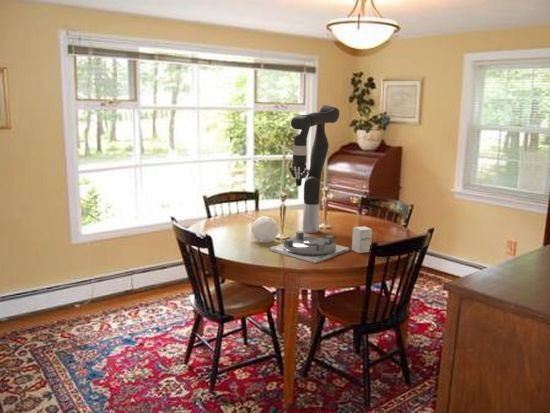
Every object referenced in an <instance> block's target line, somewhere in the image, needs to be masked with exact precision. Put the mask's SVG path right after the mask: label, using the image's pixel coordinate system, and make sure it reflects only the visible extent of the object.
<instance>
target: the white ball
mask: <svg viewBox="0 0 550 413" xmlns="http://www.w3.org/2000/svg"><path fill="white" fill-rule="evenodd" d="M251 232H252V235H253V237H254V239H256V241H257V242H261V243H264V244H267V243H270V242H273V241H274V240H275V239H276V238H277V236H278V232H279V228H278V223H277V221H276V220H275V219H273V218H272V217H271V216H270V217H269V216H266V215H263V216H260V217H258V218H256V220H255V221H254V222H253V223H252V227H251Z"/></svg>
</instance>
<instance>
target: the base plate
mask: <svg viewBox="0 0 550 413" xmlns="http://www.w3.org/2000/svg"><path fill="white" fill-rule="evenodd" d="M268 249H269V250H268V251H270V252H274V253H277V254H280V255H284V256H289V257H291V258H295V259H298V260H303V261H306V262H310V263H313V264H314V263H315V264H317V263H320V262H322V261H323V262H324V261H325V260H328V259H330V258H333V257H336V256H338V255H341V254H344V253H346V252H349V251H350V247H347V246H344V245H339V244H336V250H335V251H334V252H332V253H328V254H323V255H303V254H297V253H293V252H289V251H287V250H285V249H284V247H283V243H281V244H280V243H279V244H277V245H275V246H270V247H269V248H268Z"/></svg>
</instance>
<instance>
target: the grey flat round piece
mask: <svg viewBox="0 0 550 413" xmlns="http://www.w3.org/2000/svg"><path fill="white" fill-rule="evenodd" d="M304 233H305V232H304V231H296V235H295V237H290V238H287V239H285V240H283V243H282V244H283V247H284V249H285V250H287V251H289V252H293V253H297V254H303V255H323V254H328V253H332V252H334V251H335V250H336V245H337V244H336V242H334V241H335V240H334V239H335V237H334V235H326V236H325V238H324V237H318V236H317V237H316V236H305V234H304Z"/></svg>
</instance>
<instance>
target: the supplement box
mask: <svg viewBox="0 0 550 413" xmlns="http://www.w3.org/2000/svg"><path fill="white" fill-rule="evenodd" d="M372 234H373V228H370V227H367V226H366V225H364V226H354V227H353V228H352V239H351V240H352V241H351V242H352V243H351V251H353V252H356V253H357V254H363V253H370V252H369V249H370V245H371V246H372V237H373V236H372Z"/></svg>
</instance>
